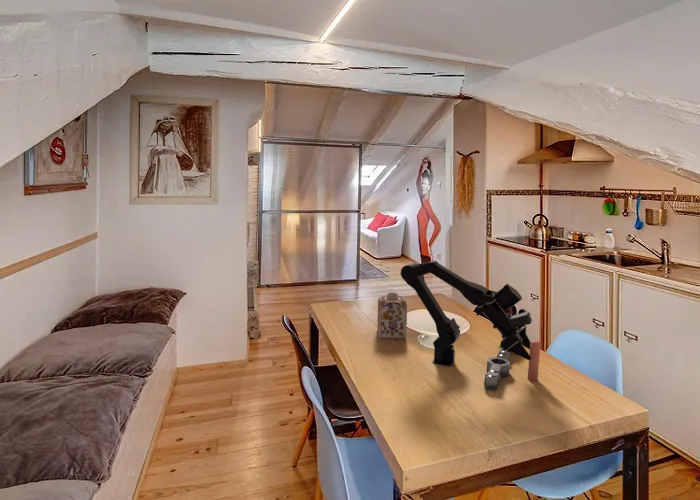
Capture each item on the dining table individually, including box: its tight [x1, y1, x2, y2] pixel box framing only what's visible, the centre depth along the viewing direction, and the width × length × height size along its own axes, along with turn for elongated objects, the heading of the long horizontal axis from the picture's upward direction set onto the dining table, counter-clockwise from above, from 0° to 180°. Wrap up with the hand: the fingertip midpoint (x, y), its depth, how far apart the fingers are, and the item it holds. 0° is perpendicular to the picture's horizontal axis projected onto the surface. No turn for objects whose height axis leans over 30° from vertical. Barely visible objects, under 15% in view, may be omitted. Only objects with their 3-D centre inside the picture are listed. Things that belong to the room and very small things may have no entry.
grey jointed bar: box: [483, 349, 511, 392], centre depth 145 cm, size 7×30×4 cm, turn 152°
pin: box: [527, 339, 541, 383], centre depth 140 cm, size 3×3×13 cm
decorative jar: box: [377, 292, 408, 339], centre depth 182 cm, size 12×12×18 cm
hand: (531, 354), depth 140 cm, fingers open, 9 cm apart
